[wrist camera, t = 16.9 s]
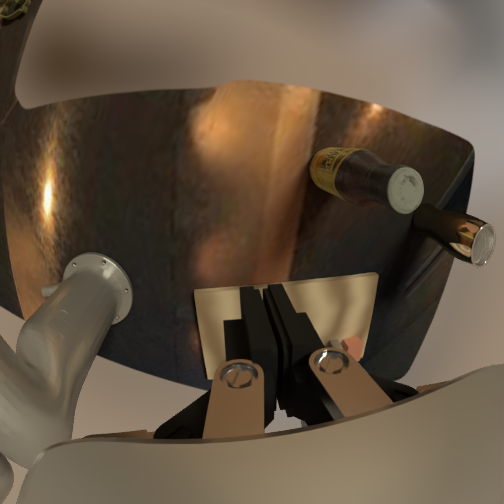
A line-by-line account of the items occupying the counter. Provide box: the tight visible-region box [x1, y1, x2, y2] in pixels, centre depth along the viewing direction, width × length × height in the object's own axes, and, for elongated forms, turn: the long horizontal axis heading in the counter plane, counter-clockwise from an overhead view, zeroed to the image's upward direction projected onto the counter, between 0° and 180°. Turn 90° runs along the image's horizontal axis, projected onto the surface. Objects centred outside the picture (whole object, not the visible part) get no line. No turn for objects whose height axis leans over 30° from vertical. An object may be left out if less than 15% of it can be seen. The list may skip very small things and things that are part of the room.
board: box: [194, 272, 379, 379], centre depth 46 cm, size 30×18×1 cm, turn 92°
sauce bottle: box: [309, 148, 424, 214], centre depth 29 cm, size 7×6×20 cm
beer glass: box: [413, 203, 496, 268], centre depth 36 cm, size 7×7×15 cm
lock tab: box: [342, 336, 363, 361], centre depth 47 cm, size 3×4×2 cm
